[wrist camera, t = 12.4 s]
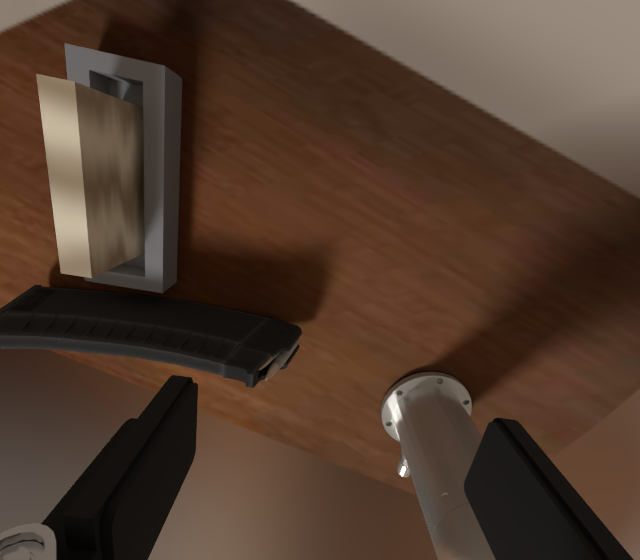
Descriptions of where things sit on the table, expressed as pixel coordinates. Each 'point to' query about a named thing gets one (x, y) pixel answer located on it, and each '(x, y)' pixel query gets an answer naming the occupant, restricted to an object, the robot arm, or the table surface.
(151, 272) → the gray rectangular tray
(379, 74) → the table surface
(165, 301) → the magazine
